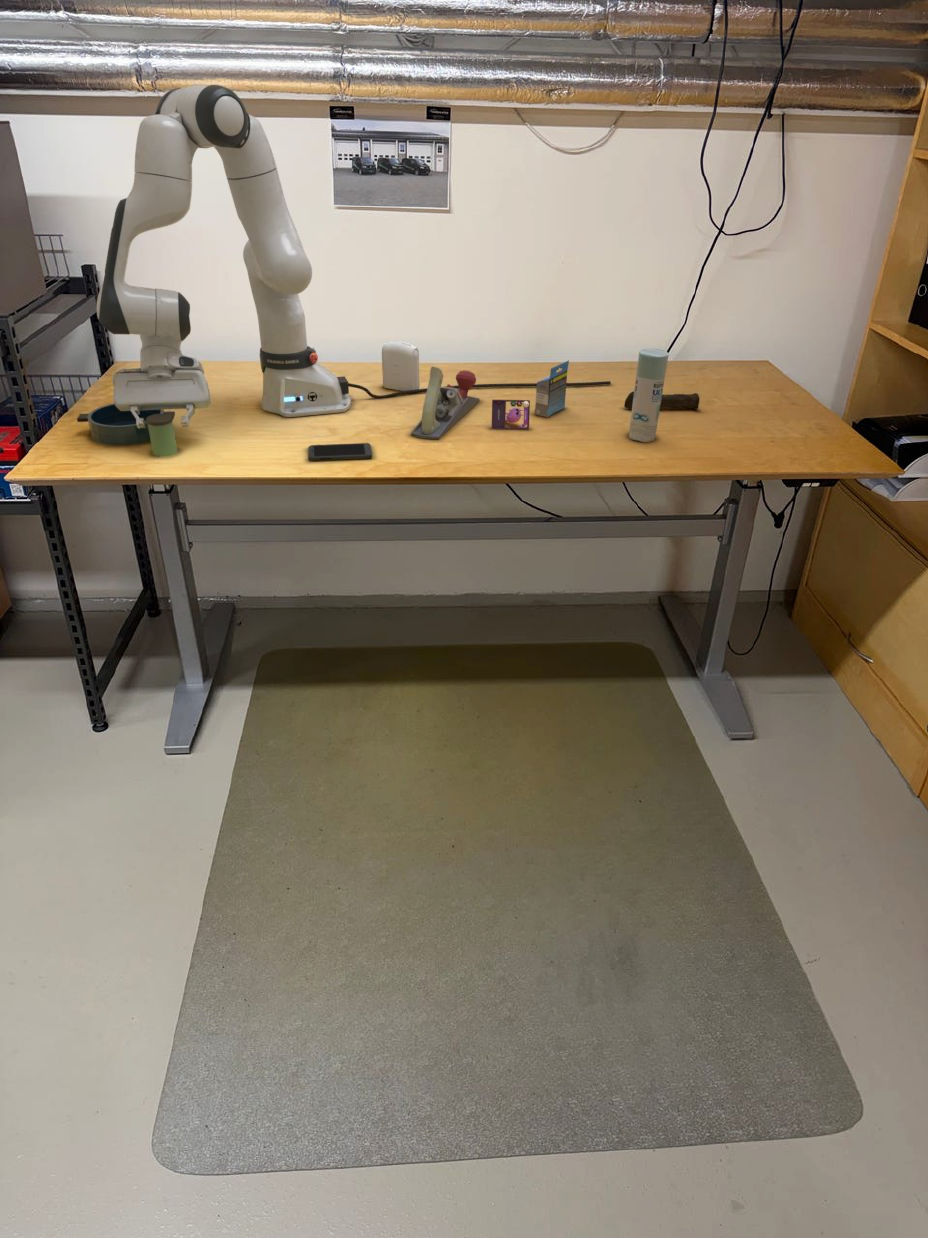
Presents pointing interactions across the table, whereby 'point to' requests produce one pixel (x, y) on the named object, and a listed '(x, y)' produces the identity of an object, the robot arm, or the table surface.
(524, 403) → the purple cartoon box
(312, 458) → the cell phone
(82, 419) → the pot ear handles
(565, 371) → the tape cartridge
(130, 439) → the pot
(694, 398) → the hand tool
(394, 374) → the photo printer
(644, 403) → the spray paint can
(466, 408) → the hand plane
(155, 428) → the canister
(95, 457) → the table surface
